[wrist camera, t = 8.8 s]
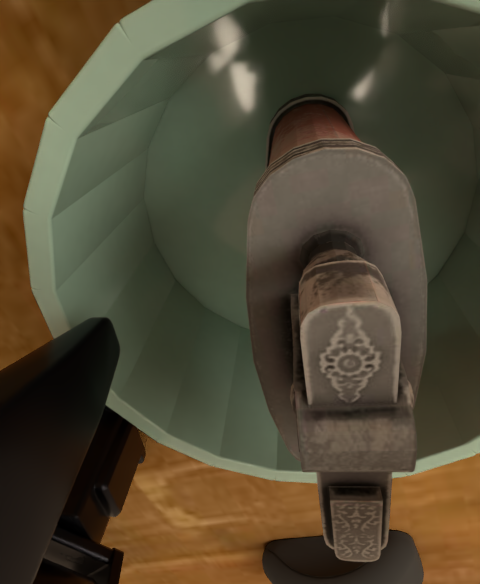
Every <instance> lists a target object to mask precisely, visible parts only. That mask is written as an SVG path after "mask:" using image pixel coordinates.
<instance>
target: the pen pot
mask: <svg viewBox="0 0 480 584" xmlns="http://www.w3.org/2000/svg"><path fill="white" fill-rule="evenodd" d="M304 94H323V95H325V96H328V97H331V98H334V99H335V100H336V101H337V102H338V103H339V104H340V105H342V106H343V107H344V108H345V109H346V110H347V112H348V114H349V116H350V118H351V121H352V123H353V127H354V132H355V134H356V136H357V137H358V138H359V139H360V141H361V142H363V143H366V144H368V145H371V146H374V147H376V148H377V149H379V150H380V151H381V152H382V153H383V154H384V155H385V156H387V157H388V158H389V159H390V160H391V161H392V162H393V163H395V165H396V166H397V167H398V168H399V169H400V170H401V171H402V172H403V173H404V174H405V176H406V177H407V179H408V182H409V184H410V187H411V189H412V191H413V194H414V196H415V199H416V206H417V213H418V220H419V227H420V234H421V241H422V248H423V255H424V262H425V268H426V275H427V342H426V355H425V360H424V364H423V369H422V374H421V378H420V383H419V388H418V392H417V397H416V402H415V406H414V409H413V416H414V421H415V428H416V437H417V458H416V466H415V470H414V471H413V472H392V478H399V477H406V475H407V476H410V475H414V474H417V473H420V472H423V471H427V470H430V469H433V468H436V467H439V466H443V465H446V464H449V463H452V462H456V461H459V460H462V459H465V458H468V457H472V456H475V455H476V454H478V453H480V0H151V1H150V2H148V3H146V4H145V5H143V6H141V7H140V8H138V9H136V10H135V11H133V12H131V13H130V14H128V15H126V16H125V17H123V18H122V19H121V20H120V23H116V24H115V25H114V26H113V27H112V29H111V30H110V31H109V33H108V34H107V35H106V37H105V38H104V39H103V41H102V42H101V43H100V45H99V46H98V47H97V49H96V50H95V51H94V53H93V54H92V55H91V57H90V58H89V59H88V61H87V62H86V63H85V65H84V66H83V67H82V69H81V70H80V71H79V73H78V74H77V75H76V77H75V78H74V79H73V81H72V82H71V83H70V85H69V86H68V87H67V89H66V90H65V91H64V93H63V94H62V95H61V97H60V98H59V99H58V101H57V102H56V103H55V105H54V106H53V107H52V109H51V110H50V111H49V113H48V117H47V118H46V121H45V125H44V128H43V132H42V136H41V140H40V144H39V147H38V151H37V155H36V159H35V163H34V166H33V170H32V174H31V178H30V181H29V185H28V189H27V193H26V197H25V200H24V204H23V208H24V209H23V219H24V229H25V238H26V247H27V256H28V266H29V275H30V284H31V288H32V293H33V295H34V297H35V299H36V302H37V304H38V306H39V308H40V310H41V312H42V315H43V317H44V319H45V321H46V323H47V325H48V328H49V330H50V332H51V334H52V336H53V338H54V339H55V338H57V337H58V336H60V335H62V334H63V333H65V332H67V331H68V330H70V329H72V328H73V327H75V326H77V325H79V324H80V323H82V322H84V321H85V320H87V319H89V318H92V317H107V318H109V319H110V320H111V321H112V324H113V326H114V329H115V332H116V335H117V338H118V341H119V344H120V356H119V360H118V363H117V367H116V370H115V374H114V377H113V380H112V384H111V387H110V391H109V394H108V398H107V401H106V404H105V405H106V406H107V407H109V408H110V409H112V410H113V411H114V412H116V413H117V414H119V415H120V416H121V417H123V418H124V419H126V420H127V421H128V422H130V423H131V424H133V425H134V426H135V427H137V428H138V429H139V430H141V431H142V432H144V433H145V434H146V435H148V436H149V437H151V438H152V439H153V440H156V442H158V443H160V444H162V445H165V446H167V447H169V448H171V449H174V450H176V451H178V452H181V453H183V454H185V455H187V456H190V457H192V458H194V459H196V460H199V461H201V462H203V463H205V464H208V465H210V466H214V467H217V468H221V469H226V470H230V471H234V472H239V473H243V474H247V475H251V476H256V477H260V478H264V479H268V480H274V479H275V481H285V482H304V483H317V475H316V472H303V471H302V468H301V462H300V461H298V460H296V459H295V458H294V456H293V455H292V454H291V453H290V452H289V451H288V449H287V447H286V445H285V443H284V441H283V439H282V437H281V435H280V433H279V431H278V429H277V427H276V425H275V423H274V420H273V418H272V416H271V414H270V412H269V410H268V407H267V403H266V400H265V397H264V394H263V391H262V387H261V384H260V381H259V378H258V374H257V371H256V368H255V365H254V362H253V354H252V346H251V338H250V329H249V321H248V312H247V304H246V265H247V224H248V216H249V212H250V207H251V203H252V199H253V195H254V191H255V187H256V183H257V182H258V181H259V179H260V178H261V176H262V175H263V174H264V172H265V163H266V142H267V134H268V130H269V126H270V122H271V119H272V118H273V116H274V115H275V113H276V112H277V110H278V109H279V108H280V107H281V106H282V105H284V104H285V103H286V102H288V101H289V100H290V99H292V98H295V97H298V96H301V95H304Z"/></svg>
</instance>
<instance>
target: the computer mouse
mask: <svg viewBox="0 0 480 584" xmlns="http://www.w3.org/2000/svg"><path fill="white" fill-rule="evenodd" d="M262 563H263V569H264V572H265V574H266V576H267V577H268V578H269V580H270V581H271V582H272V584H422V582H423V577H424V572H423V567H422V563H421V560H420V557H419V554H418V552H417V549H416V547H415V544H414V541H413V539H412V537H411V536H410V535H408V534H406V533H403V532H400V531H389V533H388V542H387V545H386V547H385V548H383V549H382V550H381V555H380V557H379V559H378V560H376V561H372V562H357V561H345V560H341V559H339V558H337V557H336V554H335V549H331V548H330V547H329V546H328V545H326V542H325V540H324V536H320V537H309V538H297V539H285V540H277V541H273V542H270V543H269V544H268V545H267V546H266V548H265V550H264V553H263V559H262Z"/></svg>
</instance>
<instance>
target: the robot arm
mask: <svg viewBox="0 0 480 584" xmlns="http://www.w3.org/2000/svg"><path fill="white" fill-rule="evenodd" d="M119 356H120V344H119V341H118V338H117V335H116V332H115V329H114V326H113V324H112V321H111V320H110V319H109V318H107V317H92V318H89V319H87V320H85V321H84V322H82V323H80V324H79V325H77V326H75V327H73V328H72V329H70V330H68V331H67V332H65V333H63V334H62V335H60V336H58V337H57V338H55V339H53V340H51V341H50V342H48V343H46V344H45V345H43V346H41V347H40V348H38V349H36V350H35V351H33V352H31V353H30V354H28V355H26V356H24V357H23V358H21V359H19V360H18V361H16V362H14V363H13V364H11V365H9V366H8V367H6V368H4V369H3V370H1V371H0V584H119V578H120V572H121V567H122V561H123V556H124V552H123V551H120V550H118V549H116V548H112V549H110V548H108V547H106V546H104V545H102V544H100V543H101V540H102V537H103V535H104V532H105V529H106V527H107V524H108V521H109V519H110V517H116V516H117V515H118V514H119V513H120V512H121V510H122V507H123V505H124V502H125V499H126V496H127V494H128V491H129V488H130V485H131V482H132V480H133V477H134V474H135V471H136V468H137V466H138V464H140V463H143V461H144V458H145V456H146V455H145V451H144V446H143V443H142V441H141V438H140V435H139V432H138V430H137V427H135V426H134V425H133V424H131V423H130V422H128V421H127V420H126V419H124V418H123V417H121V416H120V415H119V414H117V413H116V412H114V411H113V410H112V409H110V408H109V407H107V406H106V405H105V404H106V401H107V398H108V394H109V391H110V387H111V384H112V380H113V377H114V374H115V370H116V367H117V363H118V360H119Z"/></svg>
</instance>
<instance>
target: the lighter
mask: <svg viewBox="0 0 480 584" xmlns="http://www.w3.org/2000/svg"><path fill="white" fill-rule="evenodd" d="M246 304H247V312H248V321H249V329H250V338H251V346H252V354H253V362H254V365H255V368H256V371H257V374H258V378H259V381H260V384H261V387H262V391H263V394H264V397H265V400H266V403H267V407H268V410H269V412H270V414H271V416H272V418H273V420H274V423H275V425H276V427H277V429H278V431H279V433H280V435H281V437H282V439H283V441H284V443H285V445H286V447H287V449H288V451H289V452H290V453H291V454H292V455H293V456H294V458H295V459H296V460H298V461H300V462H301V468H302V471H303V472H316V475H317V483H318V492H319V500H320V508H321V517H322V525H323V533H324V540H325V542H326V545H328V546H329V547H330V548H331V549H335V554H336V557H337V558H339V559H341V560H345V561H357V562H372V561H376V560H378V559H379V557H380V555H381V550H382V549H383V548H385V547H386V545H387V542H388V533H389V517H390V502H391V487H392V472H413V471H414V470H415V466H416V458H417V437H416V428H415V421H414V416H413V409H414V406H415V402H416V397H417V392H418V388H419V383H420V378H421V374H422V369H423V364H424V360H425V355H426V342H427V275H426V268H425V262H424V255H423V248H422V241H421V234H420V227H419V220H418V213H417V206H416V199H415V196H414V194H413V191H412V189H411V187H410V184H409V182H408V179H407V177H406V176H405V174H404V173H403V172H402V171H401V170H400V169H399V168H398V167H397V166H396V165H395V163H393V162H392V161H391V160H390V159H389V158H388V157H387V156H385V155H384V154H383V153H382V152H381V151H380V150H379V149H377V148H376V147H374V146H371V145H368V144H366V143H363V142H361V141H360V139H359V138H358V137H357V136H356V134H355V132H354V127H353V123H352V121H351V118H350V116H349V114H348V112H347V110H346V109H345V108H344V107H343V106H342V105H340V104H339V103H338V102H337V101H336V100H335V99H334V98H331V97H328V96H325V95H323V94H304V95H301V96H298V97H295V98H292V99H290V100H289V101H288V102H286V103H285V104H284V105H282V106H281V107H280V108H279V109H278V110H277V112H276V113H275V115H274V116H273V118H272V119H271V122H270V126H269V130H268V134H267V142H266V163H265V172H264V174H263V175H262V176H261V178H260V179H259V181H258V182H257V183H256V187H255V191H254V195H253V199H252V203H251V207H250V212H249V216H248V224H247V265H246Z"/></svg>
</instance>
